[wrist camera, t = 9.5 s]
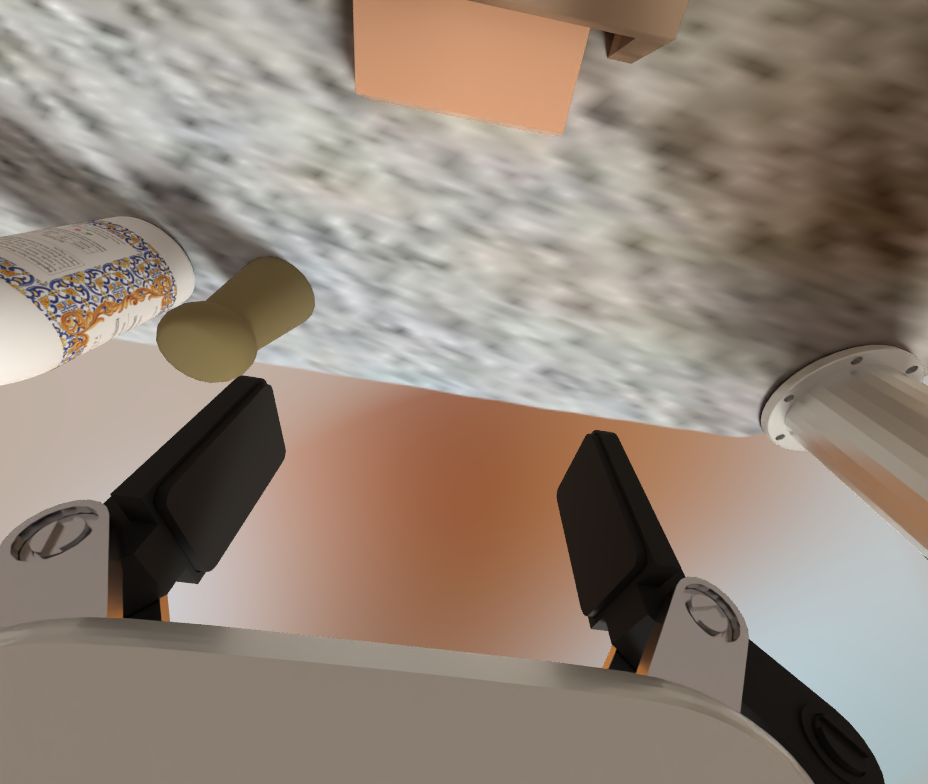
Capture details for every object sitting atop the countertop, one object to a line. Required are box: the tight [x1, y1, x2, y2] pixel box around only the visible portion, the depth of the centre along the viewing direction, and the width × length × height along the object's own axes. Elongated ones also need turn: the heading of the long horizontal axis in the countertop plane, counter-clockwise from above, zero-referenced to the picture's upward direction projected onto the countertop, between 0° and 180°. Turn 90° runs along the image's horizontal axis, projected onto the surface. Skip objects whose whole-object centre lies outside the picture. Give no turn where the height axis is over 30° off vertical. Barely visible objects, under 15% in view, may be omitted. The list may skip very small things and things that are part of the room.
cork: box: [156, 257, 315, 383], centre depth 24 cm, size 6×6×11 cm
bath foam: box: [0, 216, 195, 385], centre depth 19 cm, size 7×7×20 cm
